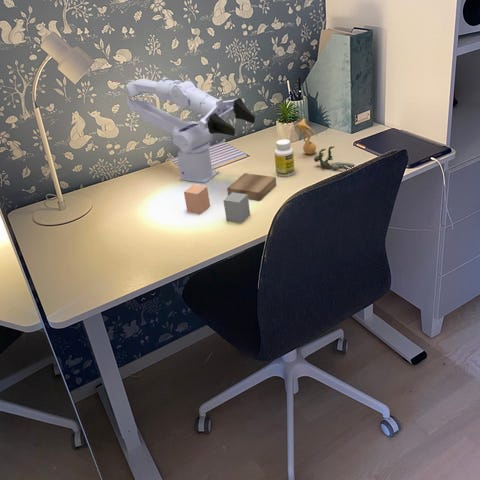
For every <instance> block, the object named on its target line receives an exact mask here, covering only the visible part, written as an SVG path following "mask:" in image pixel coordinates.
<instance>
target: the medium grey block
mask: <svg viewBox="0 0 480 480" xmlns="http://www.w3.org/2000/svg"><path fill="white" fill-rule="evenodd" d="M223 206H224V212H225V218H226V221H227V222H233V223H238V224H243V223H244V222H245V221H246V220H247V219H248V218H249V217H250V216H251V211H250V210H251V209H250V202H249V199H248V194H241V193H234V192H232V193H231V194H230V195H229V196H226V197H225V198H224V199H223Z"/></svg>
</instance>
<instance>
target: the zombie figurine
mask: <svg viewBox="0 0 480 480" xmlns="http://www.w3.org/2000/svg"><path fill="white" fill-rule="evenodd" d="M334 148H335V146H329V147H328V150H327V153H328V155H327V158H326V159H325V160H323V157H324V155H325V153H323V152H324V151H326V148H322V149H320V150H319V152H318V154H317V155H315V156H314V157H313V161H314V162H315V163H317V162H319V164H320V166H321V167H322V168H323V169H325V170H332V171H335V170H336V169H337V170H338V169H344V170H346V171H347V169H350V168H351V169H353V168H352V167H354V166H356V165H355V164H354V163H350V162H341V161H338V162H334V163H331V165H330V163H328V162H329V161H333V155H332V151H331V150H332V149H334Z"/></svg>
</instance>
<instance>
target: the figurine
mask: <svg viewBox="0 0 480 480" xmlns="http://www.w3.org/2000/svg"><path fill="white" fill-rule="evenodd" d="M297 127H298V128H299V129H300V133H301V134H302V135H303V142H305V143H304V144H303V147H302V148H303V149H302V150H303V152H304V153H305V154H307V155H312V154H314V153H315V152H316V149H317V145H316V144H315V143H314V142H313V141H311V140H310V139H311V136H312V134H311V133H310V132H309V130H310V131H311V132H312V133H313V134H314V135H315V136H316V137H317V136H318V134H317V133H316V132H315V131H314V130H313V129H312V127H311V126H309V125H308V124H307V123H306V118H302V120H301V121H300V122H298V123H296V124H294V131H295V132H297V130H298V129H297ZM307 129H308V130H307ZM306 138H307V140H306Z"/></svg>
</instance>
